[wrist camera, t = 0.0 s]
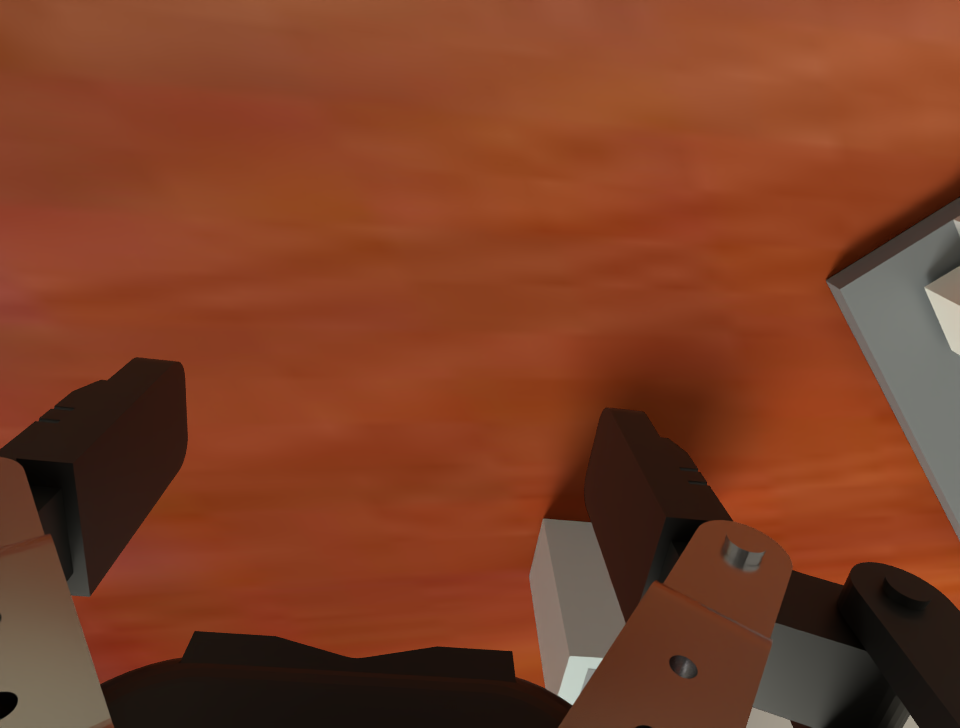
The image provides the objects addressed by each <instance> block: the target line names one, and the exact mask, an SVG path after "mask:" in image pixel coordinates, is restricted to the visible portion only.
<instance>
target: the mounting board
mask: <svg viewBox="0 0 960 728" xmlns="http://www.w3.org/2000/svg"><path fill="white" fill-rule="evenodd" d="M959 266H960V197H959V198H957V199H956V200H954V201H953V202H951V203H949V204H948V205H946V206H945V207H943V208H941V209H940V210H938V211H937V212H935V213H933V214H932V215H930V216H928V217H927V218H925V219H924V220H922V221H920V222H919V223H917V224H916V225H914V226H912V227H911V228H909V229H908V230H906V231H904V232H903V233H901V234H900V235H898V236H896V237H895V238H893V239H892V240H890V241H888V242H887V243H885V244H884V245H882V246H880V247H879V248H877V249H876V250H874V251H872V252H871V253H869V254H867V255H866V256H864V257H863V258H861V259H859V260H858V261H856V262H855V263H853V264H851V265H850V266H848V267H847V268H845V269H843V270H842V271H840V272H839V273H837V274H835V275H834V276H832V277H831V278H829V279H827V280H826V282H827V284H828V286H829V288H830V290H831V292H832V294H833V296H834V297H835V299H836V301H837V303H838V305H839V307H840V309H841V311H842V313H843V315H844V317H845V319H846V321H847V323H848V325H849V327H850V329H851V330H852V332H853V334H854V336H855V338H856V340H857V342H858V344H859V346H860V348H861V350H862V352H863V354H864V356H865V358H866V360H867V362H868V364H869V365H870V367H871V369H872V371H873V373H874V375H875V377H876V379H877V381H878V383H879V385H880V387H881V389H882V391H883V393H884V395H885V397H886V398H887V400H888V402H889V404H890V406H891V408H892V410H893V412H894V414H895V416H896V418H897V420H898V422H899V424H900V426H901V428H902V430H903V432H904V433H905V435H906V437H907V439H908V441H909V443H910V445H911V447H912V449H913V451H914V453H915V455H916V457H917V459H918V461H919V463H920V465H921V466H922V468H923V470H924V472H925V474H926V476H927V478H928V480H929V482H930V484H931V486H932V488H933V490H934V492H935V494H936V496H937V498H938V500H939V501H940V503H941V505H942V507H943V509H944V511H945V513H946V515H947V517H948V519H949V521H950V523H951V525H952V527H953V529H954V531H955V533H956V534H957V536H958V538H959V540H960V355H959V354H957V353H955V352H954V351H952V350H951V348H950V346H949V343H948V341H947V339H946V336H945V334H944V332H943V330H942V327H941V325H940V323H939V320H938V318H937V316H936V314H935V311H934V309H933V307H932V304H931V302H930V300H929V298H928V295H927V293H926V291H925V288H924V287H925V286H927V285H928V284H930V283H932V282H933V281H935V280H937V279H939V278H940V277H942V276H944V275H945V274H947V273H949V272H950V271H952V270H954V269H955V268H957V267H959Z"/></svg>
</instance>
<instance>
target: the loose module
mask: <svg viewBox="0 0 960 728" xmlns="http://www.w3.org/2000/svg"><path fill="white" fill-rule="evenodd" d="M529 579H530V586H531V592H532V599H533V606H534V613H535V620H536V626H537V633H538V640H539V647H540V654H541V661H542V667H543V674H544V681H545V688H546V689H547V690H549V691H550V692H552V693H554V694H556V695H558V696H560V697H561V698H563V699H564V700H565V701H567V702H568V703H570V704H571V705H573V704H574V702H575V701H576V699H577V698H578V696H579V695H580V693H581V692H582V690H583V689H584V687H585V685H586V684H587V682H588V681H589V679H590V678H591V676H592V675H593V673H594V672H595V670H596V669H597V667H598V666H599V664H600V662H601V661H602V659H603V658H604V656H605V655H606V653H607V652H608V650H609V649H610V647H611V646H612V644H613V643H614V641H615V639H616V638H617V636H618V635H619V633H620V632H621V630H622V629H623V627H624V626H625V624H626V623H625V620H624V617H623V614H622V611H621V608H620V605H619V602H618V599H617V596H616V594H615V591H614V588H613V585H612V582H611V579H610V576H609V573H608V570H607V567H606V564H605V561H604V558H603V555H602V552H601V549H600V546H599V544H598V541H597V538H596V535H595V532H594V529H593V526H592V523H591V522H580V521H568V520H556V519H544V518H543V521H542V525H541V529H540V533H539V538H538V542H537V546H536V550H535V554H534V558H533V563H532V567H531V571H530V575H529Z"/></svg>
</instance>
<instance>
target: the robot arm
mask: <svg viewBox="0 0 960 728" xmlns="http://www.w3.org/2000/svg"><path fill="white" fill-rule="evenodd" d="M187 441H188V432H187V410H186V388H185V373H184V368H183V366H182V364H181V363H180V362H176V361H166V360H157V359H147V358H138V357H136V358H134V359H132V360H131V361H130V362H129V363H127V364H126V365H125V366H124V367H123V368H122V369H120V370H119V371H118V372H117V373H116V374H115V375H113V376H112V377H111V378H110V379H109V380H99V381H97V382H94V383H92V384H90V385H87V386H85V387H82V388H80V389H77V390H75V391H73V392H71V393H70V394H69V395H68V396H66V397H65V398H64V399H63V400H61V401H60V402H59V403H58V404H56V405H55V408H54V409H50V410H49V411H48V412H46V413H45V414H44V415H43V416H41V417H40V418H39V422H37V421H35V422H34V423H33V424H31V425H30V426H29V427H28V428H26V429H25V430H24V431H23V432H21V433H20V434H19V435H18V436H16V437H15V438H14V439H13V440H11V441H10V442H9V443H8V444H6V445H5V446H4V447H3V448H1V449H0V728H746V725H747V722H748V718H749V716H750V712H751V709H752V707H754V708H756V709H759V710H762V711H766V712H768V713H771V714H774V715H777V716H780V717H783V718H786V719H789V720H790V721H791V724H792V726H793V728H903V726H904V724H905V722H906V721H907V719H908V717H909V715H911V716H912V718H913V719H914V721H915V722H916V723H917V725H918V726H919V728H960V611H959V610H958V609H957V608H956V607H955V606H954V604H953V603H952V602H951V601H950V600H949V599H948V598H947V597H946V596H945V595H943V594H942V593H941V592H940V591H939V590H937V589H936V588H935V587H933V586H932V585H930V584H929V583H927V582H926V581H924V580H922V579H921V578H919V577H917V576H915V575H913V574H911V573H909V572H906V571H904V570H902V569H899V568H896V567H893V566H890V565H886V564H881V563H874V562H865V563H860V564H857V565H855V566H854V567H853V568H852V569H851V571H850V573H849V576H848V578H847V580H846V582H845V584H844V585H840V584H837V583H833V582H830V581H826V580H823V579H820V578H816V577H813V576H809V575H806V574H803V573H800V572H797V571H794V570H792V562H791V559H790V557H789V555H788V554H787V553H786V551H785V550H784V549H783V548H782V547H781V546H780V545H779V544H778V543H777V542H776V541H774V540H773V539H772V538H770V537H769V536H767V535H765V534H764V533H762V532H760V531H758V530H756V529H754V528H752V527H749V526H747V525H744V524H741V523H737V522H733V520H732V519H731V517H730V516H729V514H728V513H727V511H726V510H725V508H724V507H723V505H722V504H721V502H720V501H719V499H718V498H717V496H716V495H715V493H714V492H713V490H712V489H711V487H710V486H708V485H707V482H706V480H705V479H704V477H703V476H702V474H701V473H700V472H698V468H697V467H696V465H695V464H694V462H693V461H692V459H691V458H690V456H689V455H688V453H687V452H685V451H684V450H683V449H681V448H680V447H679V446H678V445H676V444H675V443H674V442H672V441H671V440H670V439H668V438H662V437H660V436H659V434H658V433H657V431H656V430H655V428H654V426H653V425H652V423H651V422H650V420H649V418H648V417H647V415H646V414H645V412H643V411H634V410H625V409H615V408H605V409H604V410H603V412H602V414H601V416H600V419H599V423H598V427H597V431H596V436H595V440H594V444H593V448H592V452H591V456H590V460H589V464H588V469H587V473H586V478H585V487H584V496H585V504H586V508H587V511H588V514H589V517H590V520H591V523H592V526H593V529H594V532H595V535H596V538H597V541H598V544H599V546H600V549H601V552H602V555H603V558H604V561H605V564H606V567H607V570H608V573H609V576H610V579H611V582H612V585H613V588H614V591H615V594H616V596H617V599H618V602H619V605H620V608H621V611H622V614H623V617H624V620H625V623H626V624H625V626H624V627H623V629H622V630H621V632H620V633H619V635H618V636H617V638H616V639H615V641H614V643H613V644H612V646H611V647H610V649H609V650H608V652H607V653H606V655H605V656H604V658H603V659H602V661H601V662H600V664H599V666H598V667H597V669H596V670H595V672H594V673H593V675H592V676H591V678H590V679H589V681H588V682H587V684H586V685H585V687H584V689H583V690H582V692H581V693H580V695H579V696H578V698H577V699H576V701H575V702H574V704H573V705H571V704H570V703H568V702H567V701H565V700H564V699H563V698H561V697H560V696H558V695H556V694H554V693H552V692H550V691H549V690H547V689H545V688H543V687H541V686H538V685H536V684H534V683H531V682H529V681H526V680H523V679H520V678H517V677H515V671H514V662H513V654H512V651H499V650H483V649H467V648H452V647H431V648H425V649H418V650H411V651H405V652H398V653H392V654H385V655H379V656H372V657H366V658H350V657H345V656H342V655H338V654H335V653H331V652H328V651H325V650H321V649H318V648H314V647H311V646H307V645H304V644H300V643H297V642H294V641H290V640H287V639H283V638H280V637H276V636H263V635H247V634H231V633H215V632H200V631H195V632H194V634H193V636H192V638H191V640H190V642H189V645H188V647H187V649H186V651H185V653H184V655H183V657H182V658H177V659H171V660H166V661H162V662H158V663H154V664H150V665H147V666H144V667H141V668H138V669H135V670H132V671H129V672H127V673H124V674H122V675H120V676H117V677H115V678H113V679H110V680H108V681H106V682H104V683H102V684H100V683H99V680H98V677H97V674H96V671H95V668H94V665H93V662H92V659H91V655H90V652H89V649H88V646H87V643H86V640H85V637H84V634H83V631H82V628H81V625H80V622H79V619H78V615H77V612H76V609H75V606H74V603H73V600H72V597H71V595H74V596H89V597H90V596H91V594H92V593H93V592H94V590H95V589H96V587H97V586H98V585H99V583H100V582H101V580H102V579H103V577H104V576H105V575H106V573H107V572H108V570H109V569H110V568H111V566H112V565H113V563H114V562H115V560H116V559H117V558H118V556H119V555H120V553H121V552H122V551H123V549H124V548H125V546H126V545H127V544H128V542H129V541H130V539H131V538H132V536H133V535H134V534H135V532H136V531H137V529H138V528H139V527H140V525H141V524H142V522H143V521H144V519H145V518H146V517H147V515H148V514H149V512H150V511H151V510H152V508H153V507H154V505H155V504H156V502H157V501H158V500H159V498H160V497H161V495H162V494H163V493H164V491H165V490H166V488H167V487H168V485H169V484H170V483H171V481H172V480H173V478H174V477H175V476H176V474H177V473H178V471H179V470H180V468H181V466H182V464H183V461H184V458H185V454H186V449H187Z"/></svg>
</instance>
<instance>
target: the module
mask: <svg viewBox="0 0 960 728" xmlns="http://www.w3.org/2000/svg"><path fill="white" fill-rule="evenodd" d="M924 288H925V291H926V293H927V295H928V298H929V300H930V302H931V304H932V307H933V309H934V311H935V314H936V316H937V318H938V320H939V323H940V325H941V327H942V330H943V332H944V334H945V336H946V339H947V341H948V343H949V346H950V348H951V350H952V351H954V352H955V353H957V354H959V355H960V266H959V267H957V268H955V269H954V270H952V271H950V272H949V273H947V274H945V275H944V276H942V277H940V278H939V279H937V280H935V281H933V282H932V283H930V284H928V285H927V286H925V287H924Z"/></svg>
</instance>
